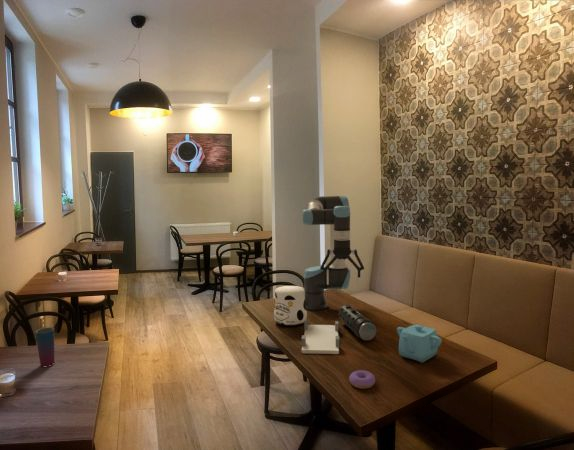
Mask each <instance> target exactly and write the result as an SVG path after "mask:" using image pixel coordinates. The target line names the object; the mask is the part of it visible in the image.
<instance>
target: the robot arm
mask: <svg viewBox="0 0 574 450" xmlns="http://www.w3.org/2000/svg"><path fill="white" fill-rule="evenodd" d="M302 224H303V225H306V226H308V225H309V226H311V225H312V226H314V225H315V226H317V225H320V226H321V225H324V226H325V225H326V226H327V225H329V242H330V243H329V244H330V245H329V249H327V252H326V254H325V257H324V259H323V261H322V263H321V264H320V265H316V266H311V267H308V268H306V269H305V270H304V272H303V274H304V275H303V279H304V280H303V281H304V284H303V285H304V287H303V288H304V290H305V307H306V310H308V311H310V310H311V311H319V310H325V309H327V308H328V301H327V298H326V295H325V290H339V291H340V290H347V289H348V288H349V286H350V280H351V269H350V268H349V266H348V265H347V264H346V260H348V261H349V262H350V263H351V264H352V266H353V267H354V268H355V269H356V270H355V285H356V286H358V285H359V278H361V271H363V270H365V267H364V265H363V262H362V260H361V258H360V256H359V255H358V250H357V249H356V248H355V249H351V240H350V239H351V208H350V203H349V199H348V197H347V196H343V195H339V196H338V195H336V196H335V195H334V196H333V195H332V196H330V195H329V196H328V195H327V196H317V197H314V198H312V199H310V200H309V201H308V202H307V203H306V205H305V209H303V210H302ZM351 254H352V255H354V256H355V258H356V261H357V263H358V264H359V265H358V264H357V263H356V261H354V259H352V257H351ZM328 259H329V260H330V261H329V262H328V263H327V261H328ZM325 265H326V266H325Z"/></svg>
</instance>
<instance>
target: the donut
mask: <svg viewBox="0 0 574 450" xmlns="http://www.w3.org/2000/svg"><path fill="white" fill-rule="evenodd" d="M348 381H349V383H350V384H351V385H352V386H353V387H355V388H357V389H361V390H364V389H365V390H367V389H370V388H372V387H373V386H374V385H375V383H376V377H375V375H374V374H373V373H372V372H370V371H368V370H363V369H362V370H361V369H359V370H356V371H353V372H352V373H350V375H349V378H348Z"/></svg>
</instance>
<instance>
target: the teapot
mask: <svg viewBox="0 0 574 450" xmlns="http://www.w3.org/2000/svg"><path fill="white" fill-rule="evenodd" d="M396 332H397V335H398V336H399V340H398V354H399V356H401V357H404V358H405V359H411V360H413V361H417V362H419V363H425V362H426V361H428V360H429V359H431V358H433V357H434V356H435V355H437V353H438V349H439V346H441V344H442V343H443V340H442V338H441V337H440V336H438V335H437V334H438V333H437V330H436V329H435V328H431V327H429V326H425V325H422V324H421V325H420V324H412V325H409V326H407V327H403V326H398V327H397V328H396Z"/></svg>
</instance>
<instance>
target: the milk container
mask: <svg viewBox="0 0 574 450" xmlns="http://www.w3.org/2000/svg"><path fill="white" fill-rule="evenodd" d="M274 291H275V292H274V301H275V302H274V303H275V306H274V310H273V320H274V322H276V324H278V325H281V326H287V327H295V326H299V325H303V324H304V322H305V321H307V319H308V318H307V317H308V313H307V309H306V307H305V290H304V287H302V286H297V285H285V286H284V285H283V286H278V287H276V288H275V290H274Z"/></svg>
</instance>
